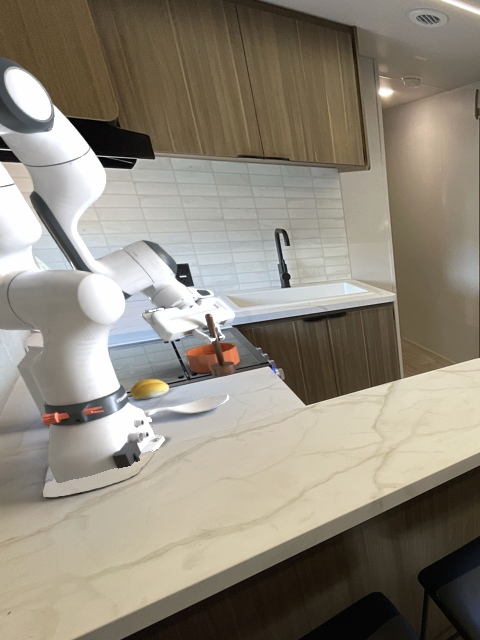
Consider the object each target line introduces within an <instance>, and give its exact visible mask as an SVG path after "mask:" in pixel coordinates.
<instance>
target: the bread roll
mask: <svg viewBox="0 0 480 640" xmlns="http://www.w3.org/2000/svg"><path fill="white" fill-rule="evenodd" d="M169 390H170V386H169V385H168V384H167V383H165V381H162V380H161V379H157V378H145V379H142V380H139V381H137V382H136V383H134V384H133V385H132V387H131V388H130V392H129V393H130V394H131V396H132V397H133V399H135V400H137V401H142V400H143V401H144V400H150V399H154V398H158V397H160V396H163V395H164V394H166V393H168V391H169Z"/></svg>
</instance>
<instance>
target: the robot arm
mask: <svg viewBox="0 0 480 640" xmlns="http://www.w3.org/2000/svg"><path fill="white" fill-rule="evenodd" d="M0 137H1V139H2V140H3V142H4V143H5V144H6V145H7V147H8V148H9V149H10V150H11V152H12V153H13V154H14V156H16V158H17V159H18V160H19V161H20V163H22V165H23V166H24V167H25V168H26V170H27V172H28V174H29V175H30V178H31V180H32V181H31V182H32V185H33V190H32V191H31V193H30V195H29V200H30V203H31V205H32V207H33V209H34V211H35V213H36V215H37V216H38V218H39V220H40V221H41V222H42V225H43V226H44V227H45V229H46V231H47V232H48V233H49V235H50V236H51V238H52V239H53V241H54V243H55V244H56V245H57V247H58V248H59V250H60V252H61V253H62V254H63V256H64V257H65V259H66V260H67V262H68V263H69V265H70V267H71V269H40V268H39V267H38V266H37V264H36V262H35V259H34V257H33V250H32V247H33V245H35V244H36V243H37V242H39V240H40V239H41V237H42V234H43V229H42V225H41V223H40V222H39V220H38V218H37V217H36V216H35V213H34V212H33V210H32V208H31V207H30V205H29V204H28V202H27V200H26V199H25V197H24V196H23V194H22V193H21V191H20V190H19V187H18V186H17V184H16V183H15V181H14V180H13V178H12V176H11V175H10V173H9V172H8V170H7V169H6V168H5V166H4V165H3V164H2V161H0V330H3V331H39V332H40V334H41V336H42V344H43V345H42V347H43V351H42V353H40V354H39V355H37V356H36V357H35V358H34V359H33V360H32V361H31V363H30V372H31V373H32V376H33V378H34V380H35V382H36V384H37V386H38V388H39V390H40V392H41V394H42V396H43V398H44V400H45V403H44V407H45V414H44V415H43V416H41V420H42V422H43V424H44V425H45V426H48V425H49V426H48V429H49V430H48V447H47V464H48V466H47V470H46V475H45V478H44V482H45V481H46V480H48V479H52V478H55V480H56V482H57V483H62V482H66V481H69V480H73V479H79V478H83V477H88V476H92V475H95V474H98V473H101V472H104V471H107V470H110V469H114V468H118V469H119V468H123V467H128V466H131V465H132V464H133V463H134V462H138V461H140V457H139V456H140V454H142V453H145V452H148V451H152V450H153V451H155V450H156V449H158V450H159V449H160V448H161V446H162V445H163V444H164V442H165V441H166V439H165V437H164V435H163V434H154V431H153V429H152V427H151V425H150V422H151V423H152V418H151V417H146V416H145V415H144V413H143V411H144V410H143V409H142V408H140V407H137V406H135V405H133V404H131V403H130V402H129V401H130V398H129V396H128V392H127V390H126V389H125V387H124V386H123V384H121V383H120V382H119V379H118V377H117V374H116V371H115V369H114V367H113V363H112V360H111V357H110V353H109V336H110V332H111V330H112V328H113V327H114V325H115V324H116V323H117V322H118V321H119V320H120V319H121V318H122V316H123V314H124V312H125V309H126V300H128V299H130V298H131V297H133V295H135V294H137V293H140V294H141V295H143V296H144V297H147V298H148V299H149V301H150V303H151V304H152V305H153V307H154V308H151V309H150V308H148V309H145V310H144V311H143V312H142V314H141V316H142V319H143V320H144V321H145V322H146V323H148V324H149V326H150V327H151V329H152V330H153V332H155V334H156V335H157V336H158V337H159V338H160V339H161V340H163V341H165V342H172V341H176V340H179V339H182V338H187V337H190V336H193V337H194V338H195V339H197V340H200V341H203V342H205V343H206V344H208V345H209V344H213V343H214V342H215V338H213V336H212V335H210V334H209V335H208V334H206V333H205V332H207V331H209V329H208V326H207V322H206V319H205V315H206V314H211V315H212V317H213V321H214V324H215V328H216V331H217V335H218V339H219V342H221V341H224V340H225V338H226V336H225V334H223V333H222V330H221V327H224V326H227V325H231V324H232V323H233V322H234V320H235V318H236V314H235V311H233V310H232V308H231V307H229V306H228V305H227V304H226V303H225V302H224V301H223V300H221V299H220V298H219V297H214V296H215V293H214V292H213V291H212V290H210V289H201V288H193V287H187V286H186V285H185V284H183V283H182V282H180V281H179V280H177V278H176V276H177V272H178V264H177V262H176V260H175V259H174V258H173V257H172V256H171V255H170V254H169V253H168V252H167V251H166V250H165V249H164V248H162V247H161V245H160V244H159V243H156V242H154V241H150V240H145V239H141V240H138V241H135V242H133V243H129V244H127V245H125V246H123V247H121V248H119V249H117V250H114V251H113V252H110V253H108V254H106V255H103V256H102V257H98V258H94V256H93V254H92V253H91V252H90V250H89V249H88V247H87V245H86V243H85V242H84V241H83V239H82V237H81V235H80V234H79V230H78V223H79V220H80V219H81V218H82V216H83V214H84V213H85V212H86V211H87V210H88V209H89V208H90V207H91V206H92V205H93V204H95V202H96V201H97V200H98V199H99V198H100V197H101V195H102V194H103V192H104V190H105V189H106V184H107V174H106V171H105V168H104V166H103V164H102V163H101V161H100V159H99V157H98V156H97V155H96V153H95V152H94V151H93V149H92V147H91V146H90V145H89V144H88V142H87V141H86V140H85V138H84V137H83V135H81V133H80V132H79V131H78V129H77V128H76V127H75V126H74V125H73V124H72V123H71V122H70V120H69V119H68V118H67V117H66V116H65V114H63V113H62V112H61V110H60V109H59V108H58V107H57V106H56V105H55V104H54V103H53V101H52V98H51V96H50V94H49V93H48V91H47V89H46V88H45V87H44V85H43V83H41V82H40V80H39V79H38V78H36V76H34V75H33V73H31V72H29V71H28V70H27V69H26V68H24V67H23V66H21V64H19V63H17V62H16V61H13V60H12V59H9V58H5V57H2V56H0ZM153 451H152V452H153ZM50 481H52V480H50ZM42 491H43V489H42ZM42 491H41V492H42Z"/></svg>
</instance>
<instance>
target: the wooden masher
mask: <svg viewBox="0 0 480 640" xmlns="http://www.w3.org/2000/svg"><path fill="white" fill-rule="evenodd" d="M205 319H206V322H207V326H208V329H209V330H208V332H209V335H212V336H213V338H215V342H214V343H212V344H213V347H214V350H215V354H216V357H217V361H218V363H216V364H213V365H211V366H210V368H211V371H212V372H211V375H212V376H213V377H226V376H230V375H233V374H234V373H236V372H237V369H236V365H234V362H225V360H224V357H223V353H222V349H221V346H220V343H221V341H219V339H218V335H217V331H216V328H215V324H214V321H213V317H212V315H211V314H206V315H205Z"/></svg>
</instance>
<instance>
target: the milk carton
mask: <svg viewBox="0 0 480 640" xmlns="http://www.w3.org/2000/svg"><path fill="white" fill-rule="evenodd" d="M26 347H27V349H28V351H27V352H26V353H25V355H24V356H23V358H22V359H21V360H20V361H19V363H18V364H17V366H16V368H17V370H18V372H19V375H20V376H21V378H22V380H23V383H24V384H25V386H26V388H27V390H28V393H29V394H30V395H31V398H32V400H33V402H34V404H35V406H36V408H37V410H38V412H39V414H40V416H41V417H42V416H43V415H44V414H45V407H44V403H45V400H44V398H43V396H42V394H41V392H40V390H39V388H38V386H37V384H36V382H35V380H34V378H33V376H32V373H31V372H30V363H31V361H32V360H33V359H34V358H35V357H36V356H37V355H39V354H40V353H42V351H43V346H36V345H27V346H26Z"/></svg>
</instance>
